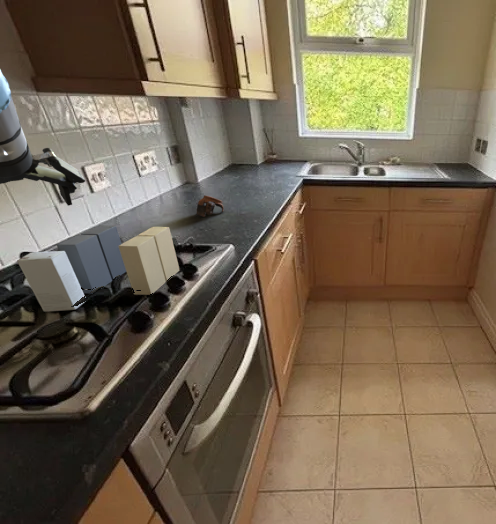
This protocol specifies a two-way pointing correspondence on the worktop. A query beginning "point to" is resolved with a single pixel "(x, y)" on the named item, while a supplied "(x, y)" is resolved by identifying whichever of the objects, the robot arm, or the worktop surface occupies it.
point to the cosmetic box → (52, 280)
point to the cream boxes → (149, 259)
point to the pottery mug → (208, 205)
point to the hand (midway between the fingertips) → (24, 210)
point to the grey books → (95, 256)
